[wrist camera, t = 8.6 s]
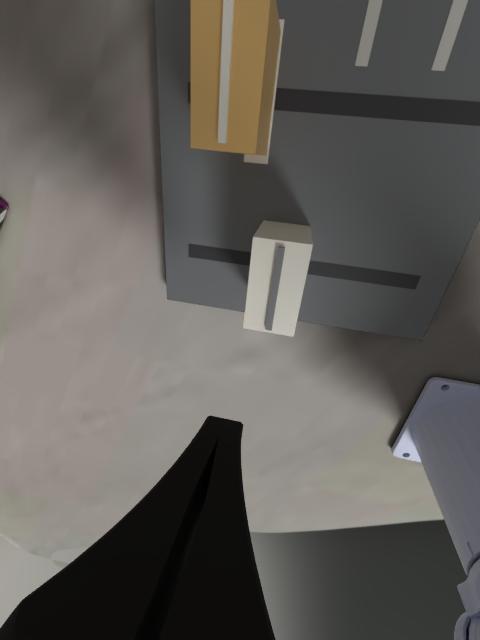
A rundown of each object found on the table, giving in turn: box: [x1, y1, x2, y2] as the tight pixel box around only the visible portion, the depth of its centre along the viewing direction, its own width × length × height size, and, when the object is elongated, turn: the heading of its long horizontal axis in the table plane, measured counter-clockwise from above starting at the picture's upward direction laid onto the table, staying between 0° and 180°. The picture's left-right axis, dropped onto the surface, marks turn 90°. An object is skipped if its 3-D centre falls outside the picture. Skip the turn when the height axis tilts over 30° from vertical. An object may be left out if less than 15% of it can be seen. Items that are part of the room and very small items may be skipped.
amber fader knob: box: [191, 0, 281, 156], centre depth 11 cm, size 2×4×4 cm, turn 175°
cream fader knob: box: [243, 220, 313, 337], centre depth 15 cm, size 2×4×4 cm, turn 175°
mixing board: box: [154, 0, 480, 341], centre depth 15 cm, size 16×15×1 cm
